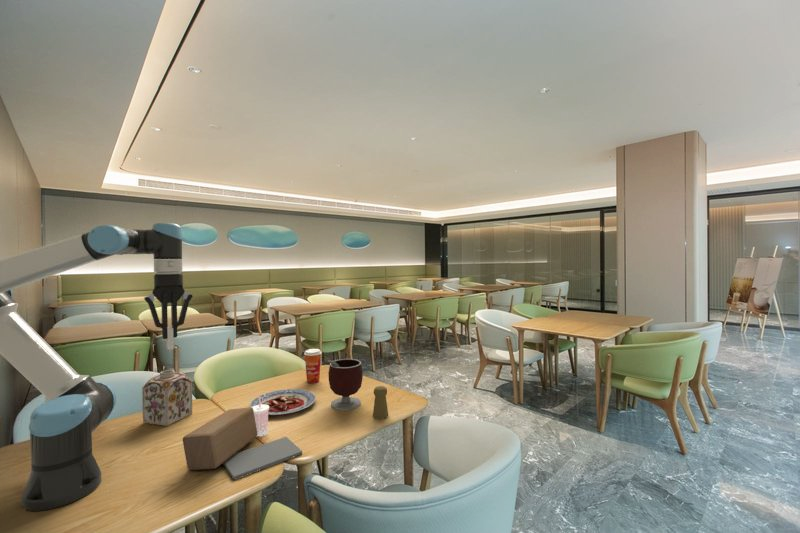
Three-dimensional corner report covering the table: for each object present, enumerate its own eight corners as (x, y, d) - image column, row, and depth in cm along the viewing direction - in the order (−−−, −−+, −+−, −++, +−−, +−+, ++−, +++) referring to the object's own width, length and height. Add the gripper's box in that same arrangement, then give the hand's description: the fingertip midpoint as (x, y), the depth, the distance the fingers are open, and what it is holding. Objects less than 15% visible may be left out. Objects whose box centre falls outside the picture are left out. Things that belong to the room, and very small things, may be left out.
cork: (391, 415, 140) (391, 386, 140) (380, 420, 136) (380, 391, 135) (380, 410, 144) (380, 383, 144) (369, 415, 140) (369, 387, 140)
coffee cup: (301, 383, 176) (301, 352, 176) (308, 377, 184) (308, 348, 184) (318, 384, 175) (317, 353, 174) (324, 378, 183) (324, 348, 183)
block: (209, 434, 102) (254, 405, 121) (180, 437, 104) (228, 408, 124) (215, 470, 102) (259, 435, 121) (186, 471, 104) (233, 438, 123)
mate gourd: (350, 395, 161) (350, 350, 160) (369, 404, 150) (369, 356, 150) (319, 404, 150) (318, 356, 150) (337, 415, 140) (336, 363, 140)
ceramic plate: (278, 425, 132) (278, 417, 132) (236, 410, 146) (236, 402, 146) (328, 401, 154) (328, 394, 154) (287, 390, 168) (287, 383, 168)
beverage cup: (270, 428, 130) (270, 389, 129) (268, 436, 124) (267, 395, 123) (252, 430, 128) (251, 390, 128) (249, 438, 122) (248, 397, 122)
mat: (233, 480, 100) (233, 476, 100) (221, 461, 109) (221, 458, 109) (302, 454, 113) (302, 451, 113) (286, 439, 122) (286, 436, 122)
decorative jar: (141, 423, 134) (140, 374, 134) (169, 410, 146) (168, 365, 145) (167, 427, 131) (166, 377, 131) (193, 413, 142) (192, 368, 142)
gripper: (144, 274, 107) (146, 354, 107) (194, 272, 115) (196, 347, 116) (141, 273, 112) (143, 349, 113) (189, 272, 121) (191, 343, 121)
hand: (170, 348), depth 114 cm, fingers closed
